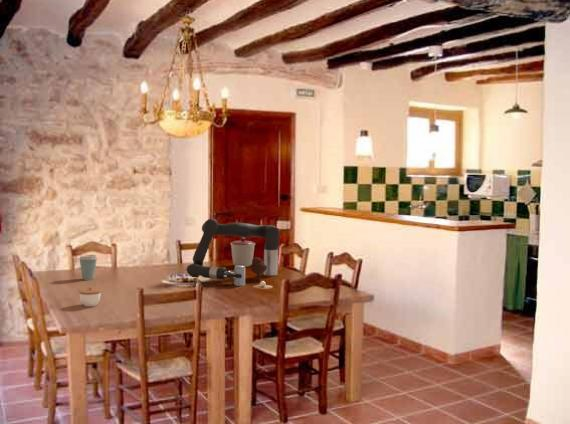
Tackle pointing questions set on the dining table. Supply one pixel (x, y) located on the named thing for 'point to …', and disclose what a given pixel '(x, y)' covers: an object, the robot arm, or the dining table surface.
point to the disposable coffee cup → (88, 266)
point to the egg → (262, 283)
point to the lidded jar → (90, 296)
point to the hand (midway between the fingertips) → (243, 275)
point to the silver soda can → (241, 270)
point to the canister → (242, 252)
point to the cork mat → (262, 287)
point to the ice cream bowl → (258, 267)
